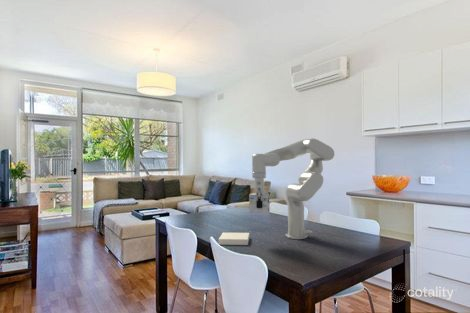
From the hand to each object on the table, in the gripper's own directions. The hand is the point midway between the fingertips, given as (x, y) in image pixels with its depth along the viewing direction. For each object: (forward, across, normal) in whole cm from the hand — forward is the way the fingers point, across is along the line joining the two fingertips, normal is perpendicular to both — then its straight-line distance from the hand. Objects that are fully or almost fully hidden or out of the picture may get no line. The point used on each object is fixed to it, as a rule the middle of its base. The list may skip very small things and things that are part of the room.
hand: (259, 206), depth 155 cm
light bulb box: (+4, 0, 0) cm, 4 cm away
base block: (+20, +1, +14) cm, 25 cm away
